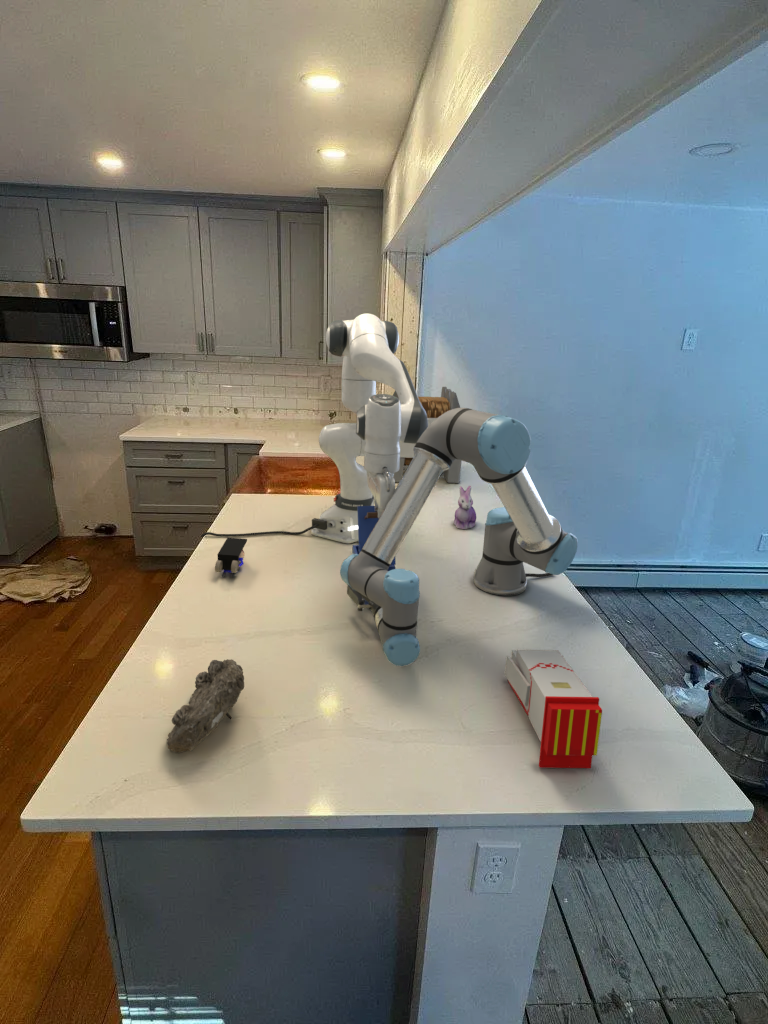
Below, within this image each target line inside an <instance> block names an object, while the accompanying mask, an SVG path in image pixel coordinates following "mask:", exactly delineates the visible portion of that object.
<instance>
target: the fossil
mask: <svg viewBox="0 0 768 1024" xmlns="http://www.w3.org/2000/svg"><path fill="white" fill-rule="evenodd" d="M243 670H244V669H243V667H242V665H240V664H237V662H236V661H235V660H234V659H232V658H231V659H227V658H226V659H224V660H223V661H222V660H217V659H212V660H211V661H210V663H209V665H208V666H207V671H201V672H199V673H198V674H197V675H196V676H195V680H194V684H195V685H194V687H195V689H194V690H193V693H192V694H191V697H190V698H189V700H188V704H184V705H182V706H181V707H180V709H177V710H176V711H175V713H174V715H173V716H172V718H171V723H172V724H173V727H172V730H171V731H170V732H168V734H167V738H166V741H167V742H166V745H167V749H168V750H169V751H173V752H174V753H176V754H178V753H182V752H188V751H189V752H192V751H193V750H195V748H196V747H197V746H199V744H200V743H201V742H203V741H204V740H205V739H206V738H207V737H208V736H209V735H210V734H211V733H212V732H214V730H215V729H217V727H218V726H219V724H220V722H221V721H222V720H223V719H224V718H225V716H226V717H227V719H229V720H233V717H232V715H230V714H229V710H230V709H231V708H234V706H235V704H236V703H237V702H238V699H239V697H240V695H241V693H242V691H243V690H245V689H244V688H245V675H244V671H243Z"/></svg>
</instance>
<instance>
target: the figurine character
mask: <svg viewBox="0 0 768 1024" xmlns="http://www.w3.org/2000/svg"><path fill="white" fill-rule="evenodd" d="M247 542H248V538H240V537H226V539H225V541H224V543H223V544H222V546H221V547H220V549H219V551H218V552H217V560H216V562H215V564H214V572H215V573H221V577H222V578H224V577H225V576H226V574H227V573H230V574H231V573H232V574H231V578H234V577H235V575H236V573H237V572H239V571H240V567H242V566H243V565H244V564H245V562H244V558H245V551H244V547H245V546H246V544H247Z"/></svg>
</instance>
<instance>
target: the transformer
mask: <svg viewBox="0 0 768 1024" xmlns="http://www.w3.org/2000/svg"><path fill="white" fill-rule="evenodd" d="M440 393H441V394H440V396H418V399H419V401H420V403H421V405H422V406H423V408H424V410H425V411H426V414H427V418H428V426H429V425H430V424H431V423H432V422H433V421H434V420H436V419H437V418H438V417H439V416H441V415H442V414H444V413H445V412H447V411H449V410H452V409H456V408H461V405H460V402H459V398H458V395H457V392H455V391H453V390H452V389H451V388H447V386H442V387H441V392H440ZM392 396H395V397H397V398H398V399H399V397H398V395H397V392H396V391H395V390H394V392H393V394H392ZM400 404H401V403H400ZM415 445H416V444H412V443H404V442H399V446H400V467H399V471H397V472H395V473H394V477H393V478H394V480H395V483H399V482H400V480H401V479H402V477H403V475H404V469H405V466H406V467H408V466H409V464H410V463H411V461H412V459H413V457H414V452H413V448H414V447H415ZM462 462H463V461H462V460H459V459H456V460H455V461H453V463H452V464H451V466H450V468H449V469H448V470H445V471H443V472H442V473H441V475H443V478H444V479H445V481H446V482H447V483H449V484H455V483H456V484H459V483H461V472H462Z"/></svg>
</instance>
